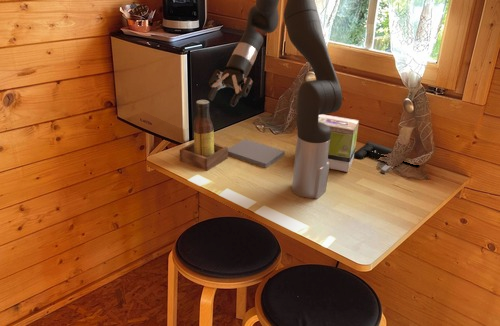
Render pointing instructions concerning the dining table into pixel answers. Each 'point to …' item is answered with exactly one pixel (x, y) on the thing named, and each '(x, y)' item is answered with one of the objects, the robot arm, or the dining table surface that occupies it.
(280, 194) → the dining table surface
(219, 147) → the box
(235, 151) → the slate board
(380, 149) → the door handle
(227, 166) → the dining table surface
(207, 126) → the sauce bottle
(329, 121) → the tea box
